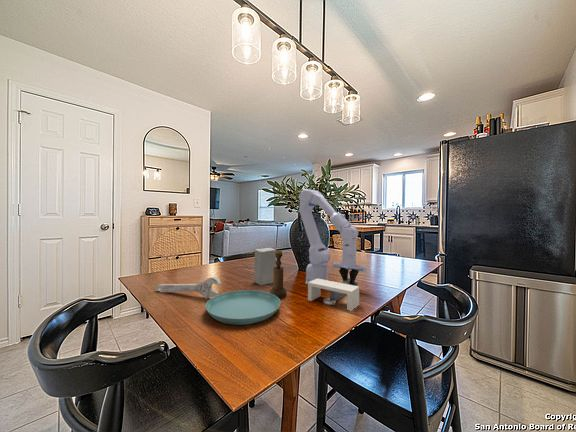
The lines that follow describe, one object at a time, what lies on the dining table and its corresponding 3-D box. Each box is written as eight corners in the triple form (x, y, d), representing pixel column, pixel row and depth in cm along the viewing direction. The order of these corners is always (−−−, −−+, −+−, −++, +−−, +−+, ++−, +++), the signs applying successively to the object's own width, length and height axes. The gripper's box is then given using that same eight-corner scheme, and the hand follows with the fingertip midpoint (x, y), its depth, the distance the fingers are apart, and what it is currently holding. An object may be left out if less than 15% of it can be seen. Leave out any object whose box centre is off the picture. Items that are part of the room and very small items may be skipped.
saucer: (202, 334, 65) (202, 321, 65) (207, 301, 88) (207, 292, 88) (288, 324, 71) (289, 312, 71) (272, 296, 94) (272, 288, 94)
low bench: (307, 300, 90) (308, 282, 90) (317, 295, 95) (317, 278, 95) (351, 311, 80) (351, 291, 80) (359, 305, 85) (359, 286, 85)
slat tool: (326, 299, 91) (326, 287, 91) (347, 286, 107) (347, 276, 107) (338, 302, 88) (338, 290, 88) (358, 288, 104) (358, 278, 104)
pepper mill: (266, 297, 93) (267, 250, 92) (275, 292, 98) (275, 248, 98) (281, 300, 89) (282, 252, 89) (289, 295, 95) (290, 249, 95)
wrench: (160, 297, 99) (222, 298, 90) (156, 299, 97) (219, 299, 88) (158, 278, 99) (220, 276, 90) (155, 279, 98) (217, 277, 88)
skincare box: (268, 279, 117) (269, 247, 117) (276, 283, 111) (277, 249, 111) (253, 282, 112) (253, 248, 112) (260, 286, 106) (261, 250, 106)
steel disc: (321, 303, 87) (321, 300, 87) (326, 300, 91) (326, 297, 91) (332, 306, 85) (332, 303, 84) (337, 302, 88) (337, 300, 88)
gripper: (329, 253, 103) (329, 285, 103) (362, 258, 94) (362, 292, 94) (336, 251, 109) (336, 281, 109) (368, 255, 100) (368, 288, 100)
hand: (348, 286), depth 102 cm, fingers closed on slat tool, 2 cm apart
